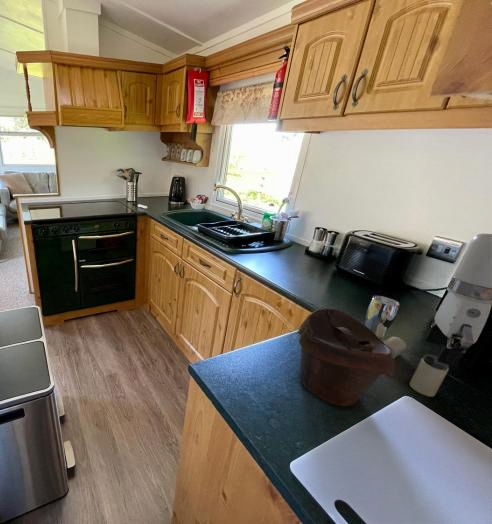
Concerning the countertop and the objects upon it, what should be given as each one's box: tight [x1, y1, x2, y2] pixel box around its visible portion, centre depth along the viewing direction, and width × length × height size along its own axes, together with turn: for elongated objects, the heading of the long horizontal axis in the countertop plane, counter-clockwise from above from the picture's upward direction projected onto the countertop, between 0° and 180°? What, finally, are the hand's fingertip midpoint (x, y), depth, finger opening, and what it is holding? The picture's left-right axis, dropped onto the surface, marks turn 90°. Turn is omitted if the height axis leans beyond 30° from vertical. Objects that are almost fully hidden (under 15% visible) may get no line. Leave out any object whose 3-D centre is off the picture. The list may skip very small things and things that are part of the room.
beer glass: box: [364, 295, 401, 341], centre depth 91 cm, size 7×7×15 cm
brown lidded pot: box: [297, 307, 396, 407], centre depth 69 cm, size 18×20×18 cm
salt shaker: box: [383, 336, 408, 359], centre depth 86 cm, size 5×5×9 cm
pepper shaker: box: [409, 353, 450, 398], centre depth 73 cm, size 5×5×9 cm
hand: (439, 352), depth 70 cm, fingers open, 9 cm apart
